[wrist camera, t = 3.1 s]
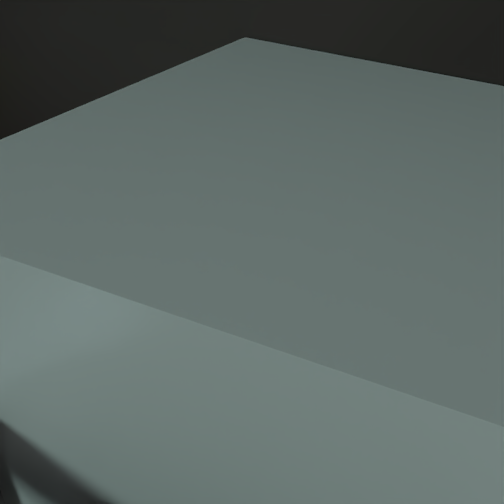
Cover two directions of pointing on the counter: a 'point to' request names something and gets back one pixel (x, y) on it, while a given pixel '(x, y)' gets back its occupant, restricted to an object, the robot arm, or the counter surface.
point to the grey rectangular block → (257, 288)
